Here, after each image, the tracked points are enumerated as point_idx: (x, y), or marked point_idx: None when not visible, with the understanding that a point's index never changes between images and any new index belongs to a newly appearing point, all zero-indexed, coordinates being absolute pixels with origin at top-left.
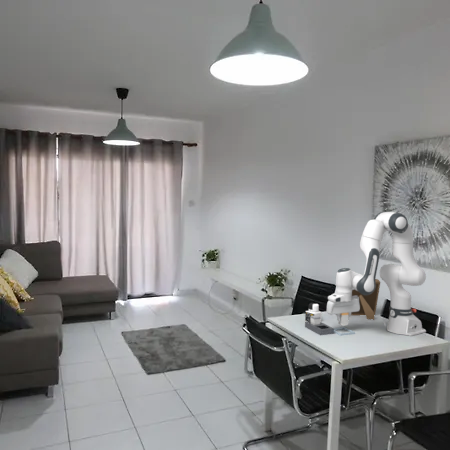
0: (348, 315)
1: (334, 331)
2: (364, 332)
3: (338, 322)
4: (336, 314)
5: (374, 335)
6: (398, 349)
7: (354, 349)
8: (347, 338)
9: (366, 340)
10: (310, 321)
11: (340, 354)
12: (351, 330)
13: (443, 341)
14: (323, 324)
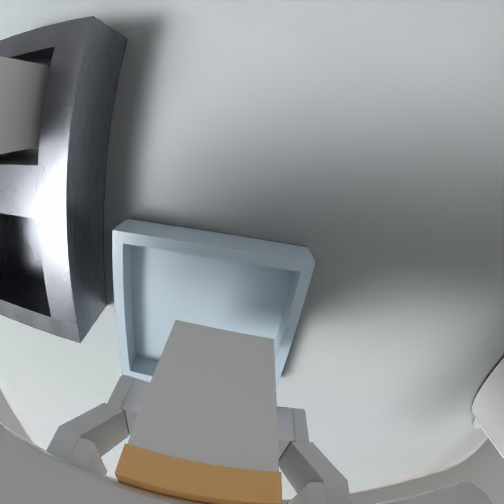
0: (292, 473)
1: (116, 304)
2: (399, 351)
3: (170, 334)
4: (62, 447)
5: (385, 404)
6: (284, 497)
7: (111, 453)
8: None
9: None
10: (10, 38)
11: (43, 438)
12: (283, 365)
13: (465, 458)
14: (44, 185)
